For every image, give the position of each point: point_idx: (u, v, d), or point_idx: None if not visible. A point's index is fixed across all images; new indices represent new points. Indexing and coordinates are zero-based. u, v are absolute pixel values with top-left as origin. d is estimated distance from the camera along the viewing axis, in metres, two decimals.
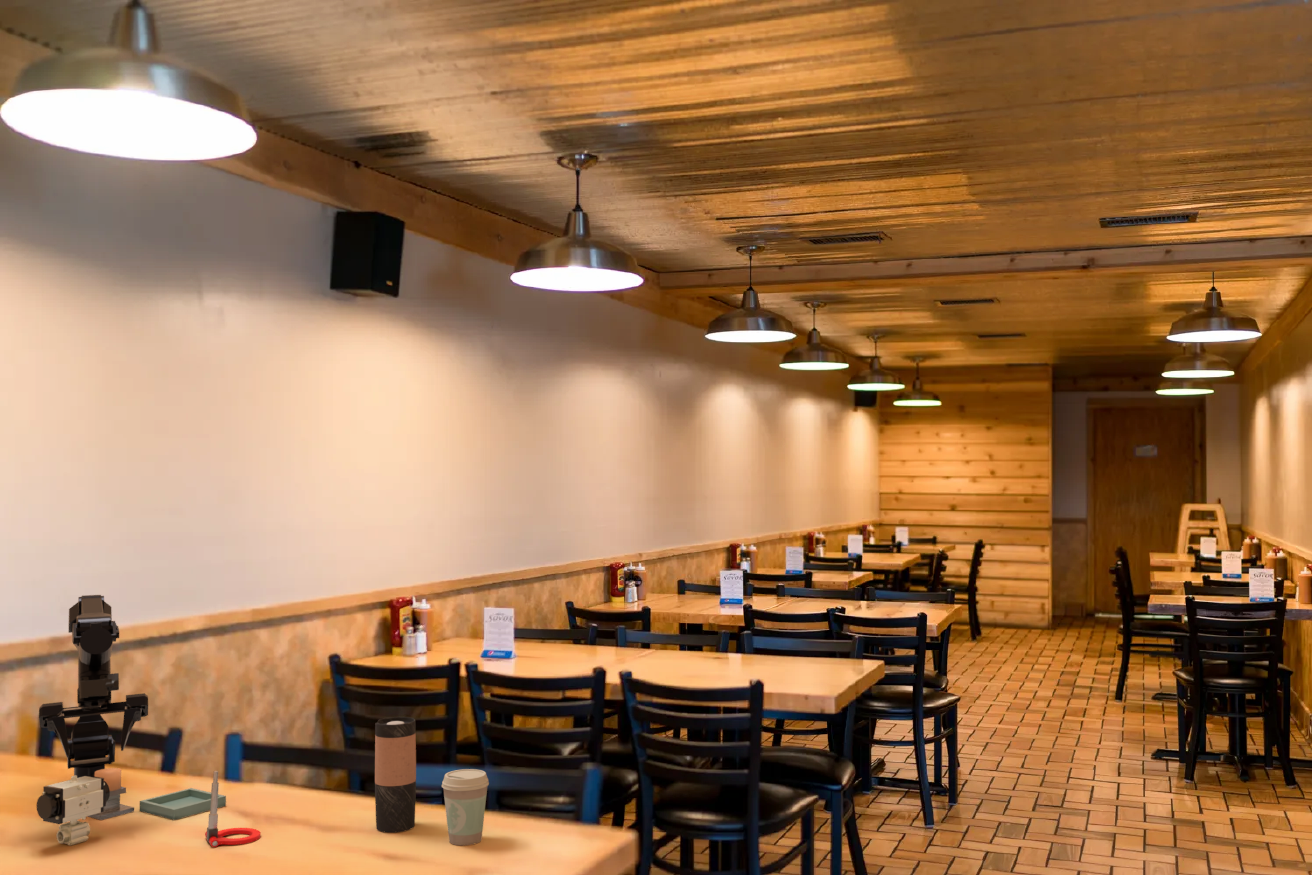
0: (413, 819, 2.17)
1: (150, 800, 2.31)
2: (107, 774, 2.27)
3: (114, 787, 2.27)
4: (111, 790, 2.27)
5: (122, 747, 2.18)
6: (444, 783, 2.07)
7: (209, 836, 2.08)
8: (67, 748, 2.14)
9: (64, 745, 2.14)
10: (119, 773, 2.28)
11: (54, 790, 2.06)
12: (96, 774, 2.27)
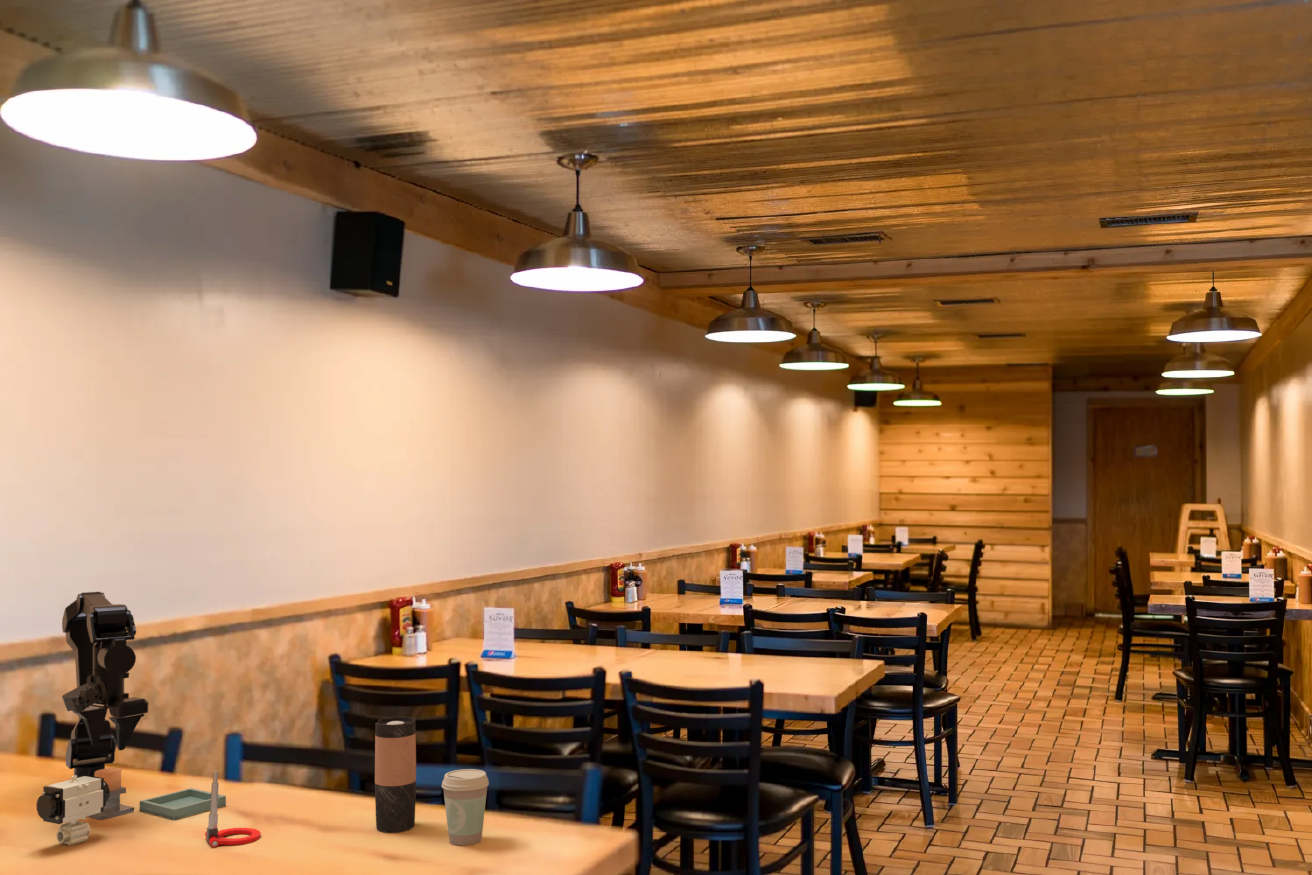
0: (413, 819, 2.17)
1: (150, 800, 2.31)
2: (107, 774, 2.27)
3: (114, 787, 2.27)
4: (111, 790, 2.27)
5: (118, 749, 2.26)
6: (444, 783, 2.07)
7: (209, 836, 2.08)
8: (91, 738, 2.31)
9: (89, 735, 2.31)
10: (119, 773, 2.28)
11: (54, 790, 2.06)
12: (96, 774, 2.27)
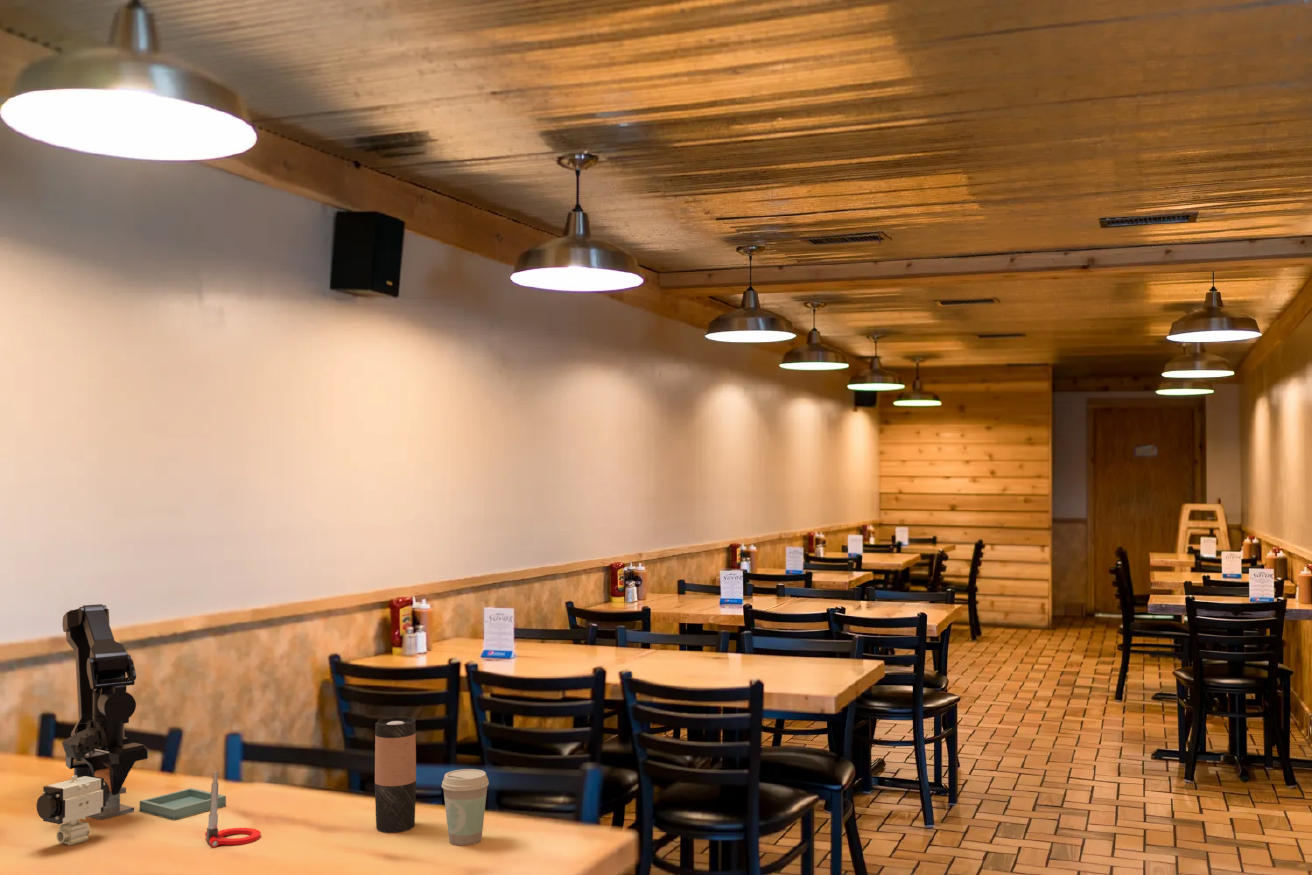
0: (413, 819, 2.17)
1: (150, 800, 2.31)
2: (107, 774, 2.27)
3: None
4: (111, 790, 2.27)
5: (112, 793, 2.27)
6: (444, 783, 2.07)
7: (209, 836, 2.08)
8: None
9: None
10: None
11: (54, 790, 2.06)
12: (96, 774, 2.27)
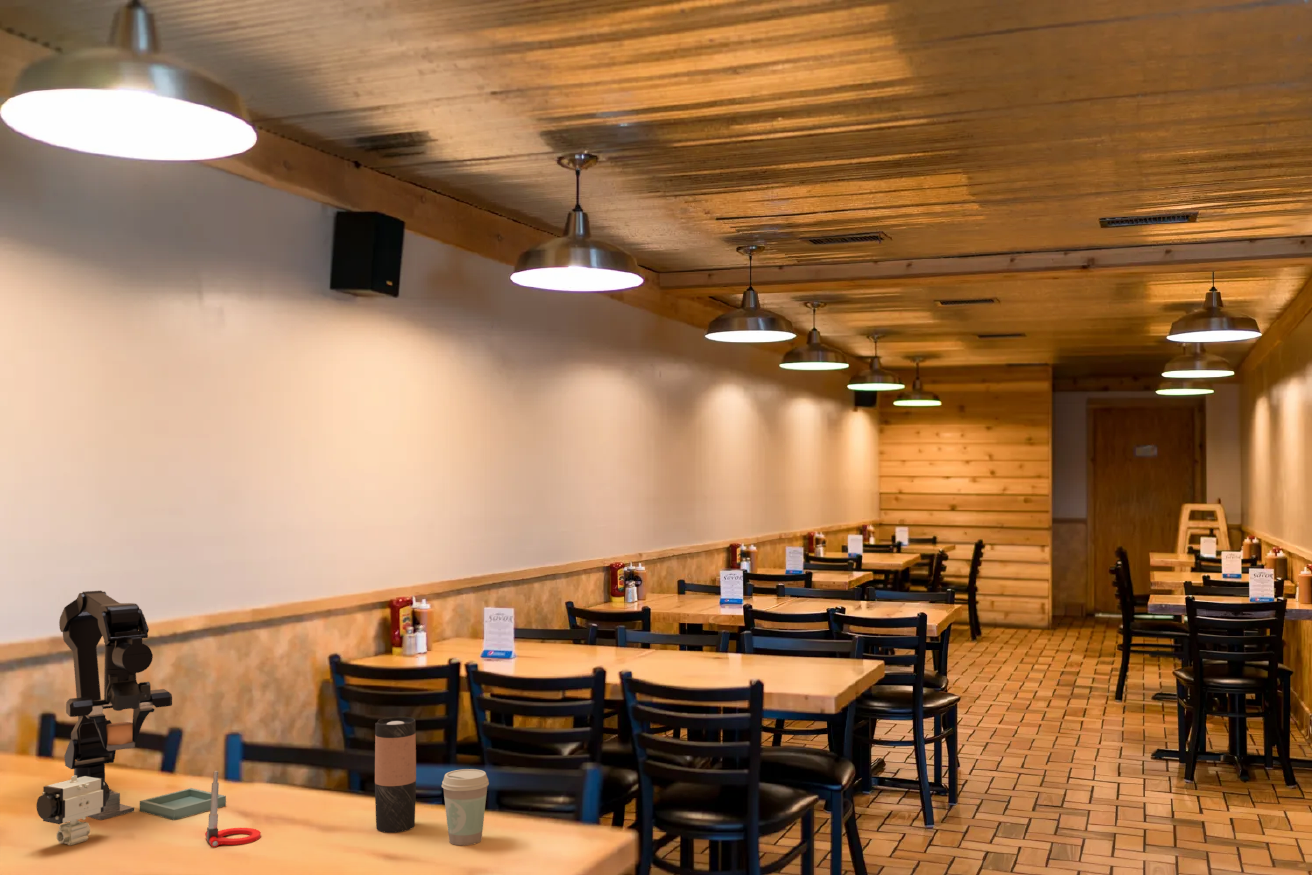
0: (413, 819, 2.17)
1: (150, 800, 2.31)
2: (131, 725, 2.29)
3: None
4: (132, 740, 2.30)
5: None
6: (444, 783, 2.07)
7: (209, 836, 2.08)
8: (105, 741, 2.27)
9: (103, 739, 2.27)
10: None
11: (54, 790, 2.06)
12: (121, 727, 2.27)
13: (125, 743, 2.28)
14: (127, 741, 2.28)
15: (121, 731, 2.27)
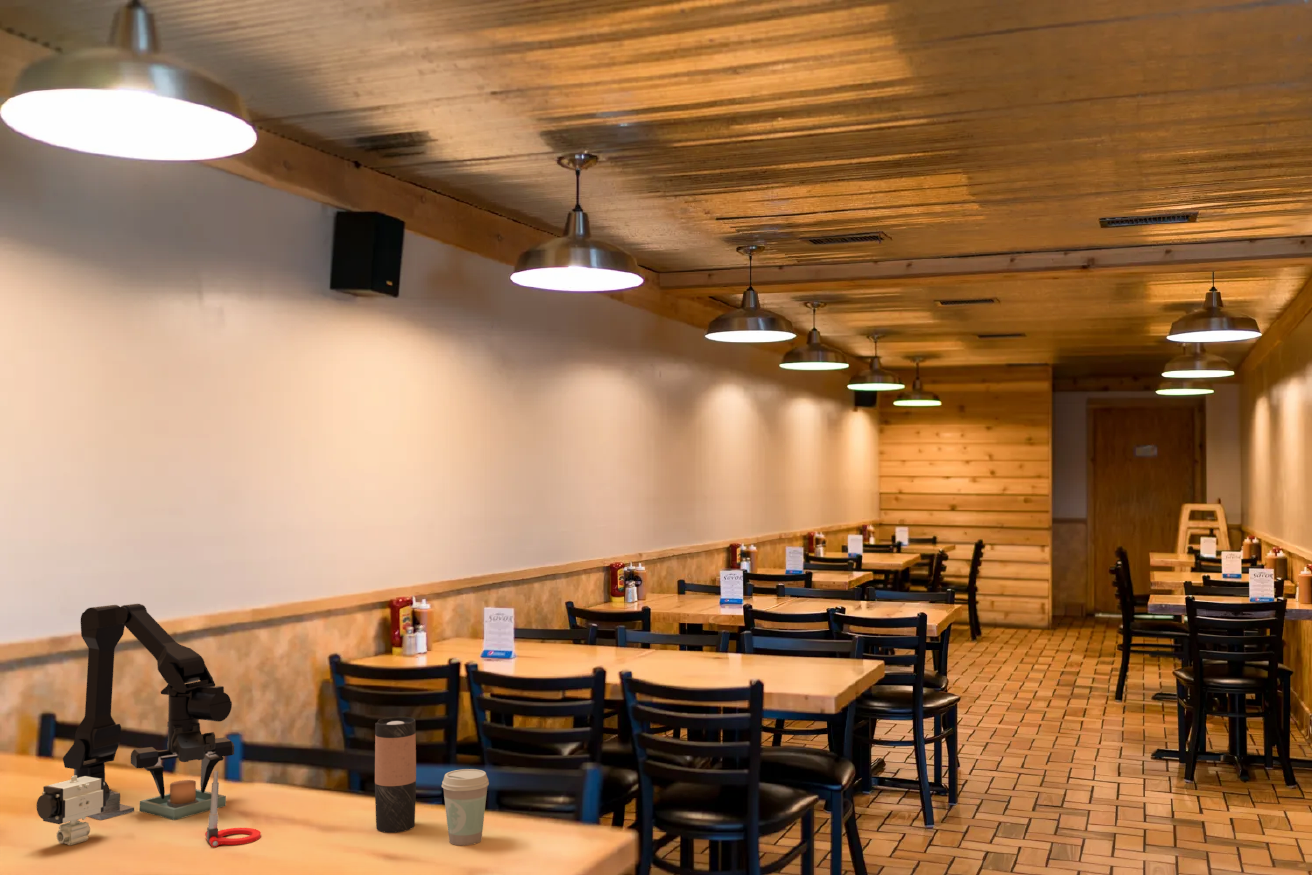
0: (413, 819, 2.17)
1: (150, 800, 2.31)
2: (194, 783, 2.31)
3: None
4: (195, 798, 2.32)
5: (203, 791, 2.33)
6: (444, 783, 2.07)
7: (209, 836, 2.08)
8: (163, 792, 2.28)
9: (160, 790, 2.28)
10: None
11: (54, 790, 2.06)
12: (186, 786, 2.29)
13: (190, 802, 2.30)
14: (191, 800, 2.30)
15: (186, 790, 2.29)
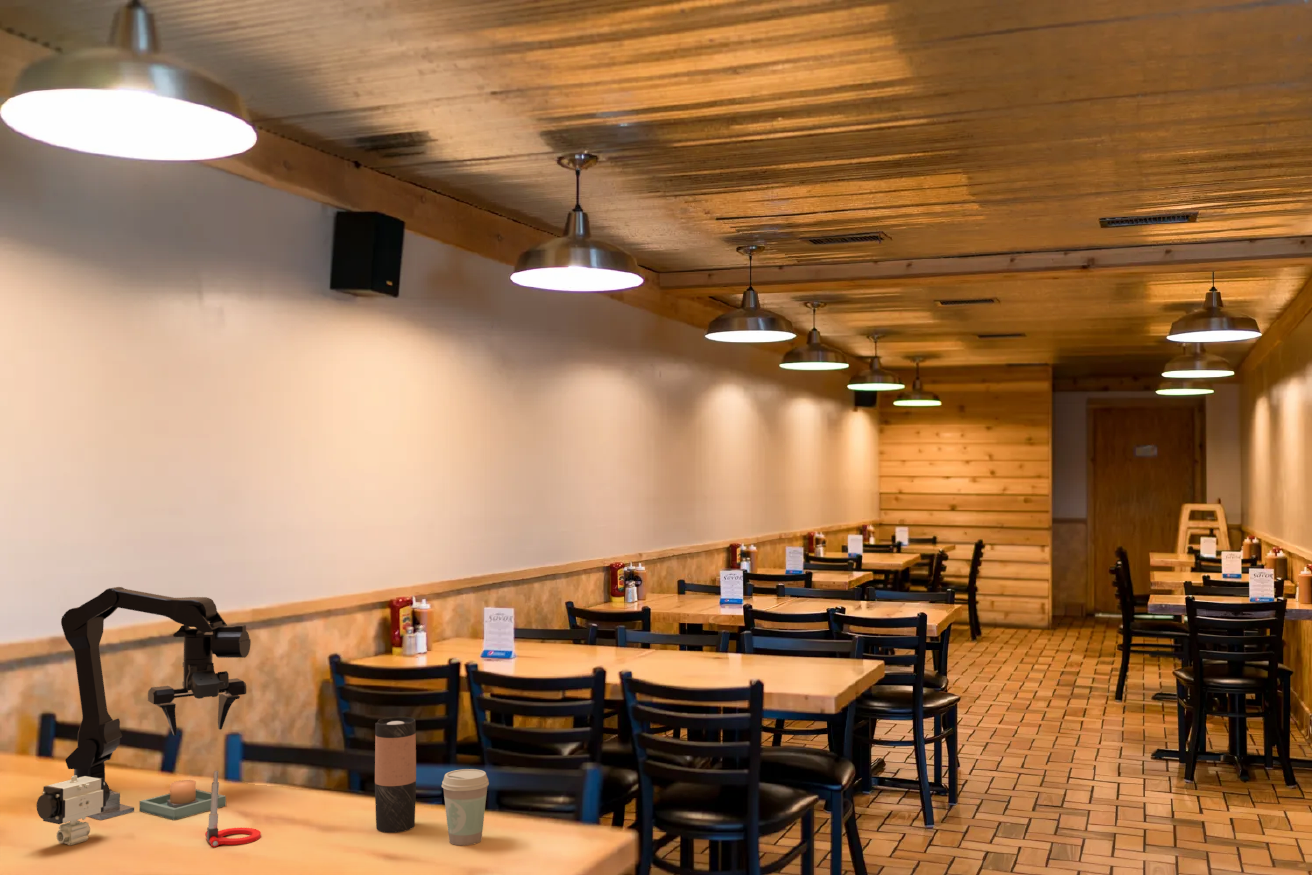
0: (413, 819, 2.17)
1: (150, 800, 2.31)
2: (194, 783, 2.31)
3: None
4: (195, 798, 2.32)
5: (221, 728, 2.44)
6: (444, 783, 2.07)
7: (209, 836, 2.08)
8: (175, 729, 2.39)
9: (173, 726, 2.38)
10: None
11: (54, 790, 2.06)
12: (186, 786, 2.29)
13: (190, 802, 2.30)
14: (191, 800, 2.30)
15: (186, 790, 2.29)
